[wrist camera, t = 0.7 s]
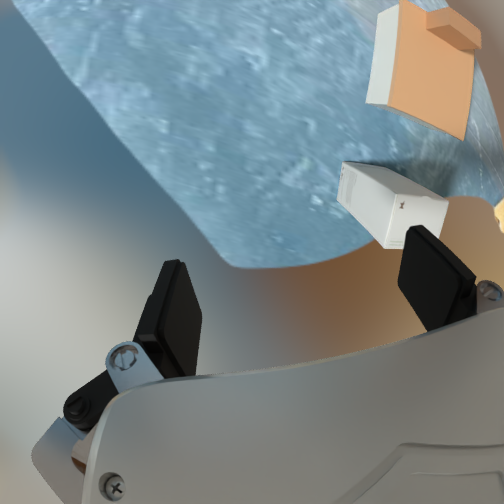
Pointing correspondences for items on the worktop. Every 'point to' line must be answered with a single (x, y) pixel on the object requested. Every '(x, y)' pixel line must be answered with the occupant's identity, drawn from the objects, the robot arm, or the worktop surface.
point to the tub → (386, 64)
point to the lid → (434, 67)
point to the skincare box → (389, 203)
